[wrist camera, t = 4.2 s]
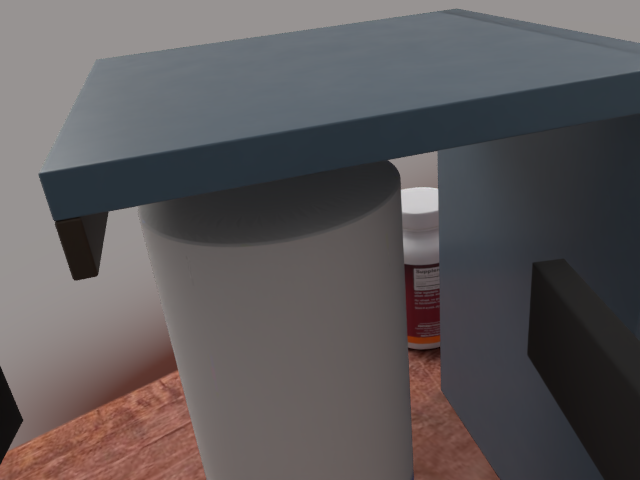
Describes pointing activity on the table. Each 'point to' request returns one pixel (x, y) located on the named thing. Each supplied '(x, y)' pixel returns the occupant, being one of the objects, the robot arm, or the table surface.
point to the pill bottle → (421, 266)
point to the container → (290, 324)
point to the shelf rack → (389, 143)
